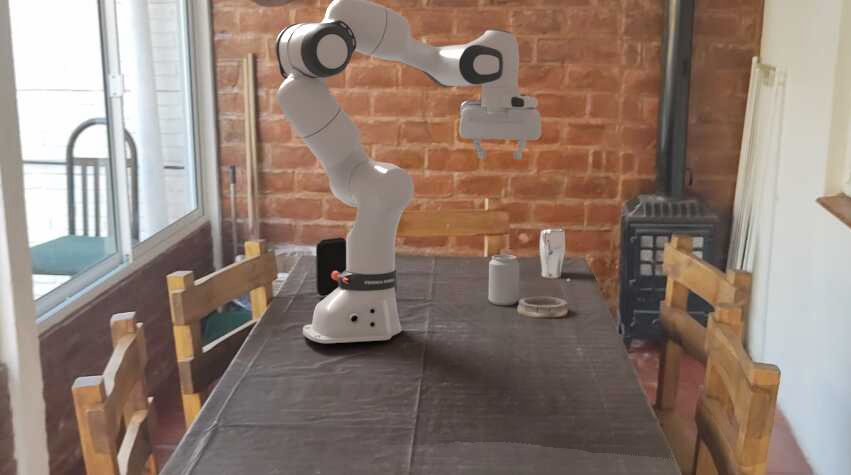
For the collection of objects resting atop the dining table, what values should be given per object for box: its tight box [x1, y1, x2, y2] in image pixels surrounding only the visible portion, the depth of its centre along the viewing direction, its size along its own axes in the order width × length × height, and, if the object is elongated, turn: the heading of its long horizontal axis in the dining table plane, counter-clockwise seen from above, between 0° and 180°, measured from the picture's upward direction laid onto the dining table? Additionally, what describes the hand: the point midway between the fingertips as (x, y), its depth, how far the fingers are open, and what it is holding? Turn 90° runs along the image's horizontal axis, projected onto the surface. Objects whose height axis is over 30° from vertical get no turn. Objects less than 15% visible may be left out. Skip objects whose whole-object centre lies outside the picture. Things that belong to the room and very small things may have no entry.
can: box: [487, 254, 520, 306], centre depth 227 cm, size 8×8×12 cm
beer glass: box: [539, 228, 566, 279], centre depth 250 cm, size 7×7×15 cm
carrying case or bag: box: [315, 237, 346, 297], centre depth 235 cm, size 11×3×15 cm, turn 135°
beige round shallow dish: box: [517, 295, 568, 319], centre depth 219 cm, size 12×12×2 cm
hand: (499, 158), depth 217 cm, fingers open, 8 cm apart
